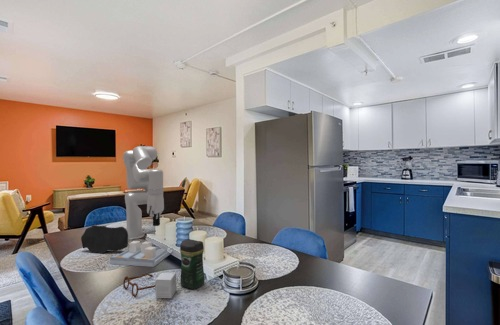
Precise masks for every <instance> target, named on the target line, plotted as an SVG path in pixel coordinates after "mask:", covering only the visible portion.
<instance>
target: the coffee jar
mask: <svg viewBox="0 0 500 325" xmlns="http://www.w3.org/2000/svg"><path fill="white" fill-rule="evenodd" d="M204 251H205V247H204V242H203V241H201V240H197V239H196V240H195V239H190V238H187V239H184V240H181V242H180V247H179V252H180V258H181V261H180V262H181V263H180V264H181V265H180V267H181V268H180V285H181V286H182V287H183V288H187V289H191V290H195V289H199V288H201V287H202V286H203V285H204V284H205V272H204V262H203V261H204V257H203V254H204Z"/></svg>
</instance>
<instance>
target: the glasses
mask: <svg viewBox="0 0 500 325" xmlns="http://www.w3.org/2000/svg"><path fill="white" fill-rule="evenodd" d="M146 276H149V277H151V278H153V277H154V275H152V274H150V273H145V274H142V275H138V276H132V277H129V276H124V279H123V284H122V285H123V286H122V287H123V289H124V288H125V289H124V290H128V289H129V287H130V286H131V296H132V297H133V296H134V298H135V297H137V296H138V293H139V291H142V290H148V289H152V288H153V289H154V288H156V283H155V284H154V285H150V286H144V287H140V288H139V286H138V283H136V282H135V283H132V282H131V281H130V280H134V279H140V278H143V277H146ZM126 281H127V286H126ZM134 287H136V288H135V289H136V291H135V293H134Z"/></svg>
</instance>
